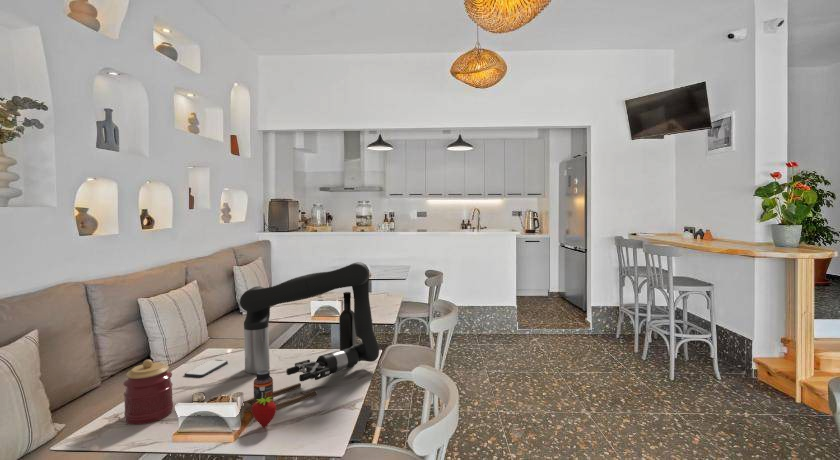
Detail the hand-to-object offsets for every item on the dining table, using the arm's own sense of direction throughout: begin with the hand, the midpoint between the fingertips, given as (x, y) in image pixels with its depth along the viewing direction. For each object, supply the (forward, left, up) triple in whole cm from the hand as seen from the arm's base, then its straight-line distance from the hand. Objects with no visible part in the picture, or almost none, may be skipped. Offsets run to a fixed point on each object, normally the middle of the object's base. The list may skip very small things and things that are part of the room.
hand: (293, 375), depth 146 cm
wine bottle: (-10, +31, -7) cm, 33 cm away
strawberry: (+13, -17, -7) cm, 23 cm away
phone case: (-49, -11, -8) cm, 50 cm away
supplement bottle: (0, -11, -7) cm, 13 cm away
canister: (-21, -38, -7) cm, 44 cm away
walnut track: (0, -5, -7) cm, 9 cm away
